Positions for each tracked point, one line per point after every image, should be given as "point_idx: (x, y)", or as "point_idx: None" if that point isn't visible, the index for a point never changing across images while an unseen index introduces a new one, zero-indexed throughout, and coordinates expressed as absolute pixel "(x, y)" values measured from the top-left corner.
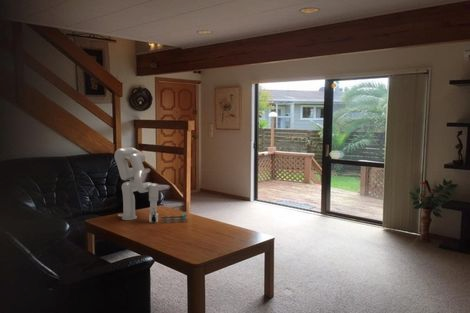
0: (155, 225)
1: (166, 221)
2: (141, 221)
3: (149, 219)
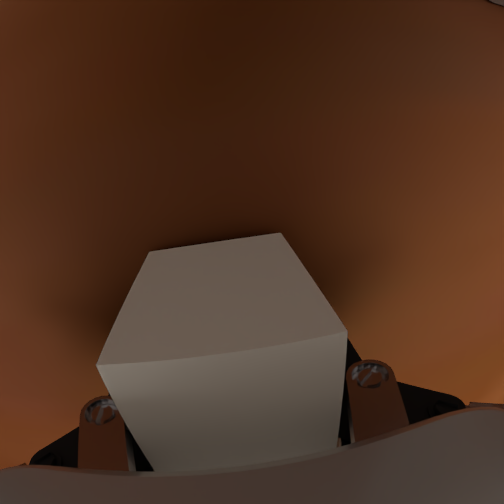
0: (15, 370)
1: None
2: (279, 45)
3: (137, 284)
